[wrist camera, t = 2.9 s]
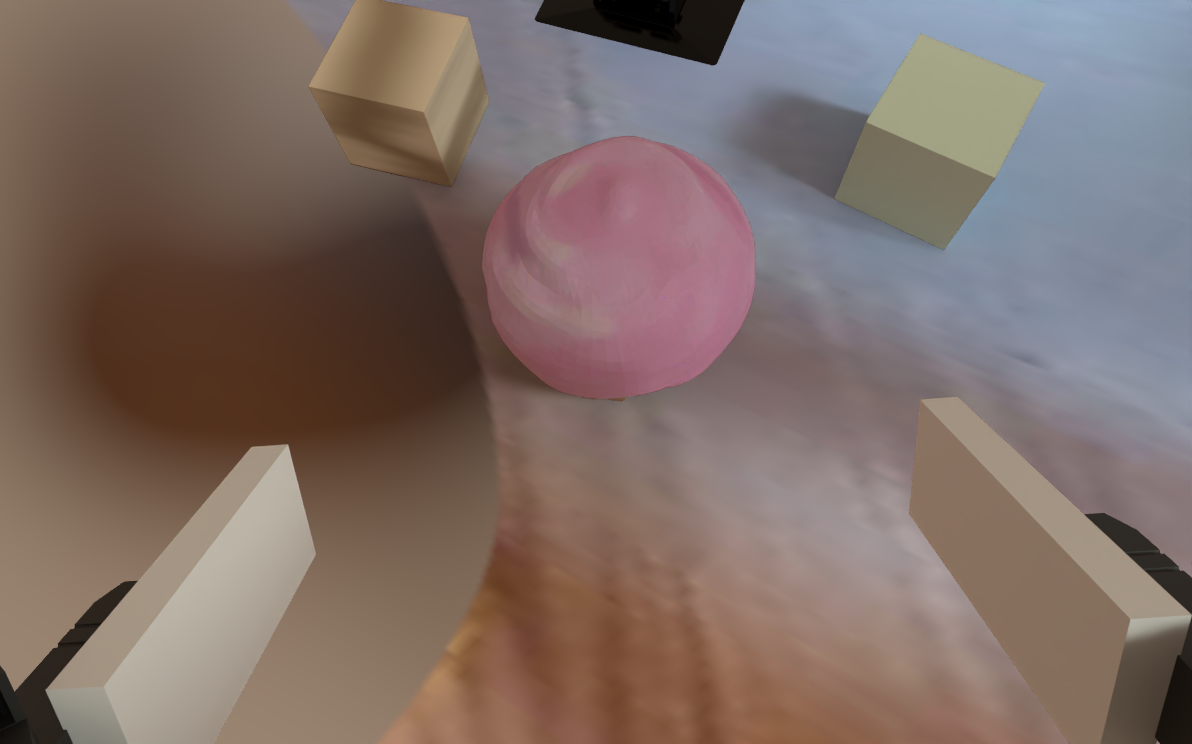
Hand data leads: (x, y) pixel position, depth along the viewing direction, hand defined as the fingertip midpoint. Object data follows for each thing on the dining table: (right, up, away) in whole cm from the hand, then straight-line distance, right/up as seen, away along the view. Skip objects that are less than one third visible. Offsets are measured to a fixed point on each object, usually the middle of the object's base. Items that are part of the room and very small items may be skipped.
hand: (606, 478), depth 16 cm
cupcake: (+1, +3, +15) cm, 16 cm away
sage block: (+14, +11, +17) cm, 24 cm away
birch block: (-8, +13, +20) cm, 25 cm away
